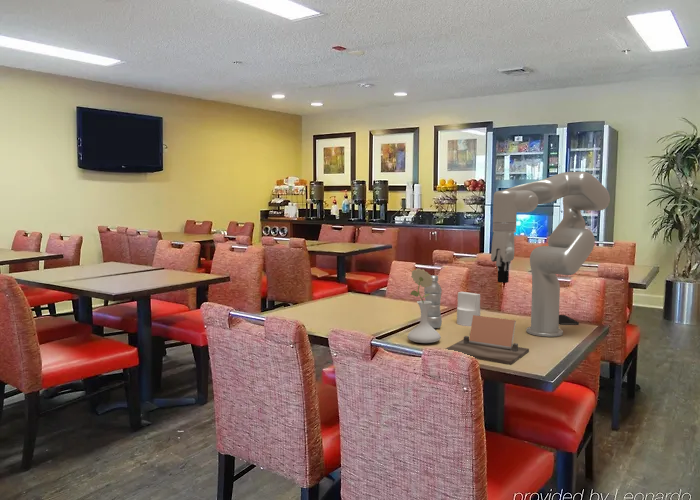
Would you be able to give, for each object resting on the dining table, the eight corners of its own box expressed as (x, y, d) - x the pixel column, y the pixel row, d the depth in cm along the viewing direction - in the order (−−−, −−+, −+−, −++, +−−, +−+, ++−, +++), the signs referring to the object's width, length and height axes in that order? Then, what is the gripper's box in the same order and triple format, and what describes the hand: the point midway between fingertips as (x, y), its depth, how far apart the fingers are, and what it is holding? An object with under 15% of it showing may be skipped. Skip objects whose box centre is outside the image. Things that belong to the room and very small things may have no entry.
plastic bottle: (440, 330, 206) (440, 277, 204) (422, 329, 208) (422, 276, 206) (443, 326, 212) (443, 275, 210) (425, 325, 214) (426, 274, 212)
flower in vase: (447, 343, 188) (448, 270, 186) (420, 347, 183) (421, 272, 180) (424, 335, 200) (424, 266, 197) (398, 339, 194) (398, 268, 192)
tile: (474, 315, 186) (473, 315, 185) (515, 320, 178) (514, 320, 177) (470, 343, 184) (468, 342, 183) (511, 349, 176) (510, 349, 175)
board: (464, 341, 190) (464, 332, 190) (528, 351, 177) (529, 341, 177) (442, 353, 176) (442, 343, 176) (511, 364, 164) (511, 354, 163)
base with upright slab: (452, 323, 218) (452, 293, 217) (466, 320, 224) (466, 290, 223) (470, 327, 211) (471, 296, 210) (484, 323, 217) (485, 293, 216)
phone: (559, 323, 215) (545, 314, 230) (559, 326, 215) (545, 317, 230) (580, 322, 215) (564, 314, 230) (580, 325, 215) (564, 317, 230)
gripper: (501, 226, 193) (499, 278, 195) (485, 228, 181) (483, 284, 183) (522, 227, 189) (521, 280, 191) (507, 229, 177) (506, 286, 178)
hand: (503, 282), depth 187 cm, fingers closed
